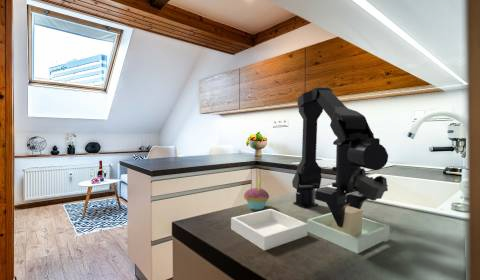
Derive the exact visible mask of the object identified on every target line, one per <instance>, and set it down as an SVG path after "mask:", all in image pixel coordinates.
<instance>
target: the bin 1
mask: <svg viewBox="0 0 480 280" xmlns="http://www.w3.org/2000/svg"><path fill="white" fill-rule="evenodd" d="M230 229H231V230H232V231H234V232H235V233H236V234H238V235H239V236H241V237H243V238H244V239H246V240H247V241H249V242H251V243H252V244H253V245H255V246H257V247H258V248H260V249H261V250H263V251H267V250H271V249H273V248H276V247H279V246H282V245H284V244H287V243H290V242H293V241H296V240H298V239H299V240H300V239H301V238H304V237H307V236H308V233H309V232H308V224H307V222H304V221H303V220H300V219H297V218H294V217H293V216H291V215H287V214H285V213H283V212H280V211H278V210H275V209H273V208H268V209H264V210H263V209H262V210H259V211H258V210H257V211H255V212H254V211H253V212H249V213H246V214H242V215H238V216H232V217H230Z"/></svg>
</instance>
